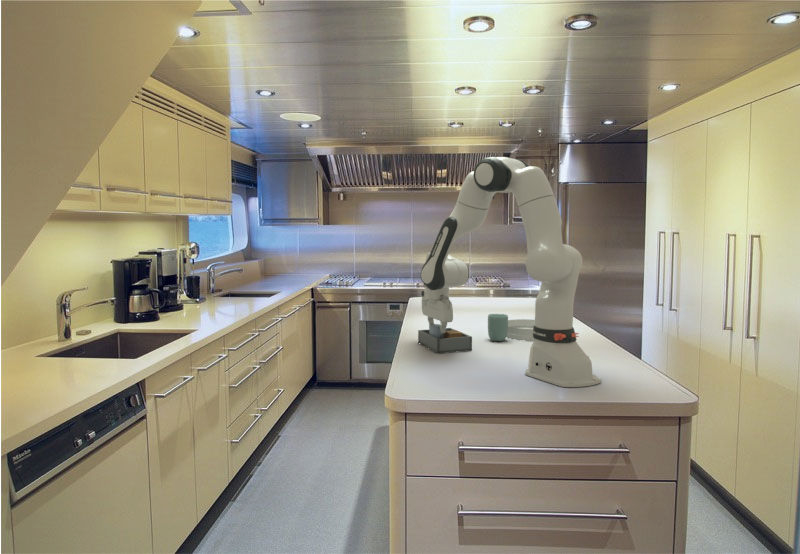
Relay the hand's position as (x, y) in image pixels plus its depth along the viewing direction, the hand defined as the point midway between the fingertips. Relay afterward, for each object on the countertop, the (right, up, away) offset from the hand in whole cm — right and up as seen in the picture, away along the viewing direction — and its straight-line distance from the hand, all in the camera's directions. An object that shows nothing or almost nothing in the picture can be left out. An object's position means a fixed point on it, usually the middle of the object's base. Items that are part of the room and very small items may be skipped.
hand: (437, 330), depth 195 cm
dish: (+39, -5, +20) cm, 44 cm away
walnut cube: (+6, -5, -1) cm, 8 cm away
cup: (+24, -5, +10) cm, 27 cm away
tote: (+3, -6, 0) cm, 6 cm away
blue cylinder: (0, -5, +1) cm, 5 cm away
